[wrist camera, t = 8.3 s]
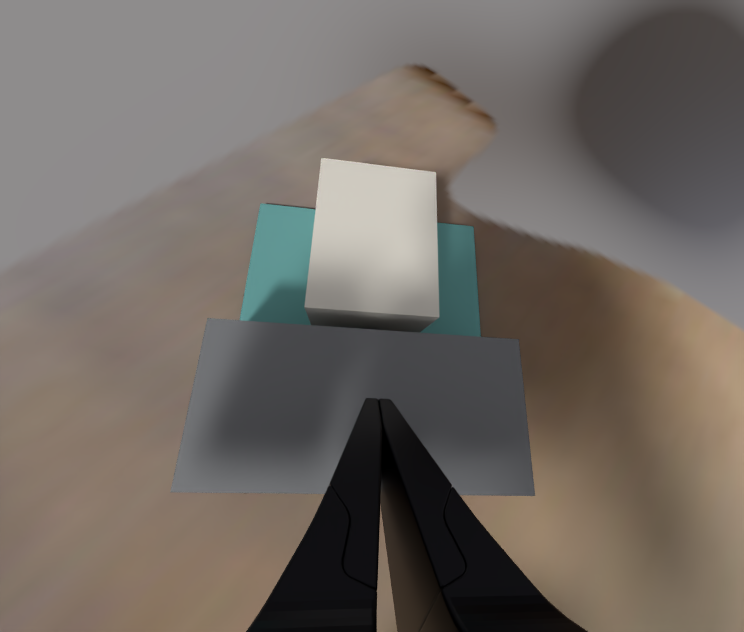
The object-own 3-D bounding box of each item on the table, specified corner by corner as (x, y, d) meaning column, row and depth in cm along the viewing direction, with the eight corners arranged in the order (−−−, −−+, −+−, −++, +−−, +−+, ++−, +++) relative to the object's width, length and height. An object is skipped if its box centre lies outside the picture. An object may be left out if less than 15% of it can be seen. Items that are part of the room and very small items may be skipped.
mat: (478, 343, 17) (481, 342, 17) (240, 328, 16) (238, 326, 15) (470, 229, 19) (473, 226, 19) (262, 207, 18) (260, 203, 18)
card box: (439, 317, 13) (435, 172, 15) (304, 307, 12) (321, 157, 14) (416, 335, 17) (415, 217, 19) (312, 328, 16) (325, 207, 18)
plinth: (485, 470, 15) (534, 495, 11) (216, 465, 14) (170, 492, 10) (478, 351, 17) (518, 339, 13) (239, 336, 16) (207, 318, 12)
